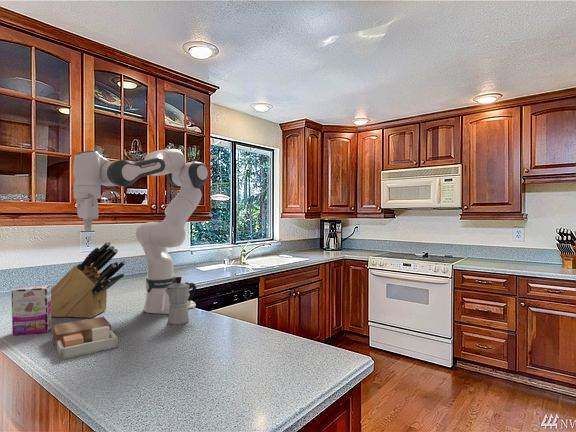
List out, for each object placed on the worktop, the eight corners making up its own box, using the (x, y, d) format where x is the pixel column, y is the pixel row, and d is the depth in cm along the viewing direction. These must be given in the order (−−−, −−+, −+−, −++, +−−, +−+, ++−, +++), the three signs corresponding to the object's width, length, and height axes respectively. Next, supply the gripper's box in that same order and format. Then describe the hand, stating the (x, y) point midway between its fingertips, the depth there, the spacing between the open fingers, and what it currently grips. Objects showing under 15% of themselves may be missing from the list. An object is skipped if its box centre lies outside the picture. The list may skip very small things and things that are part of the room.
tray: (111, 339, 126) (111, 330, 126) (117, 347, 119) (117, 337, 118) (57, 350, 116) (56, 340, 116) (60, 359, 109) (60, 349, 109)
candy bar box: (52, 328, 136) (52, 285, 136) (47, 333, 131) (46, 288, 131) (17, 330, 133) (17, 286, 133) (11, 335, 128) (10, 289, 128)
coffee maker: (171, 327, 138) (171, 280, 137) (158, 323, 143) (158, 277, 142) (202, 318, 150) (202, 275, 149) (189, 314, 155) (189, 272, 154)
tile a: (108, 325, 123) (109, 327, 121) (108, 340, 123) (109, 342, 121) (91, 328, 120) (92, 330, 118) (91, 343, 120) (92, 345, 118)
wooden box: (103, 329, 135) (103, 316, 135) (111, 339, 126) (111, 324, 125) (52, 339, 125) (52, 325, 125) (57, 350, 116) (56, 334, 116)
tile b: (81, 339, 118) (80, 333, 118) (83, 344, 114) (83, 337, 114) (63, 342, 115) (63, 336, 115) (65, 347, 111) (65, 341, 111)
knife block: (113, 319, 147) (113, 243, 146) (30, 317, 149) (29, 242, 148) (127, 311, 158) (127, 241, 157) (50, 309, 160) (49, 239, 159)
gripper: (102, 193, 129) (103, 232, 130) (91, 194, 145) (91, 228, 146) (82, 193, 125) (83, 233, 126) (73, 194, 141) (73, 229, 142)
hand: (87, 230), depth 136 cm, fingers closed
